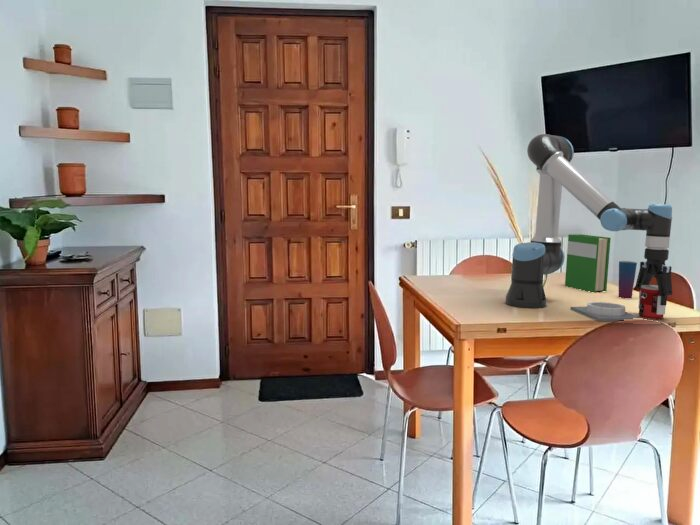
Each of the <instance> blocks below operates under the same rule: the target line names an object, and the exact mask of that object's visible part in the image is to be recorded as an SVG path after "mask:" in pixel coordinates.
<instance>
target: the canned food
mask: <svg viewBox="0 0 700 525" xmlns="http://www.w3.org/2000/svg"><path fill="white" fill-rule="evenodd" d="M659 294H660V293H659V289H658V284H657V285H655V284H649V285H641V293H640V305H639V304H638V307H639V308H638V316H639V317H642V318H644V319H648V318H650V319H649V320H661V319H663V318H664V316H665V314H661V315H658V314H656V313H657V302H658V295H659Z"/></svg>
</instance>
